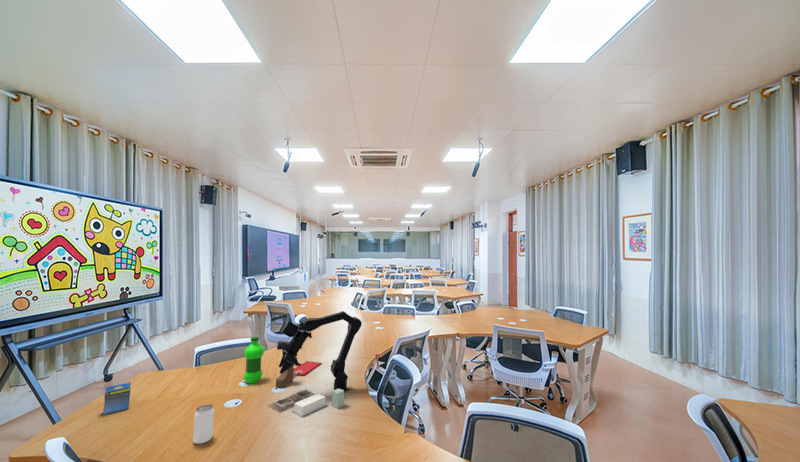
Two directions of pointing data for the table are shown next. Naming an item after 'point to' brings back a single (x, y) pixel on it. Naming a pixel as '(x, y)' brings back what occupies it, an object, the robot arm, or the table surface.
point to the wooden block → (285, 378)
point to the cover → (309, 404)
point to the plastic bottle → (253, 361)
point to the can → (203, 424)
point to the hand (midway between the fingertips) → (279, 370)
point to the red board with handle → (304, 368)
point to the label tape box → (117, 398)
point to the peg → (337, 398)
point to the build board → (290, 401)
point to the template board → (311, 412)
